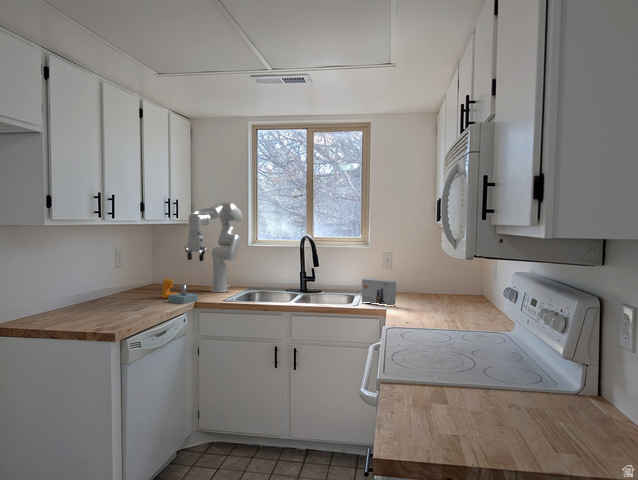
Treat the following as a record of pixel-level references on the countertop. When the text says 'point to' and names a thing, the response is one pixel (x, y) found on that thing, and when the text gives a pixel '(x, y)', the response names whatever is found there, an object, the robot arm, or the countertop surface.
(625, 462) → the countertop surface
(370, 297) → the skincare box
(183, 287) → the peg
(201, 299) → the countertop surface
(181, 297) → the socket block
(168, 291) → the bracket
